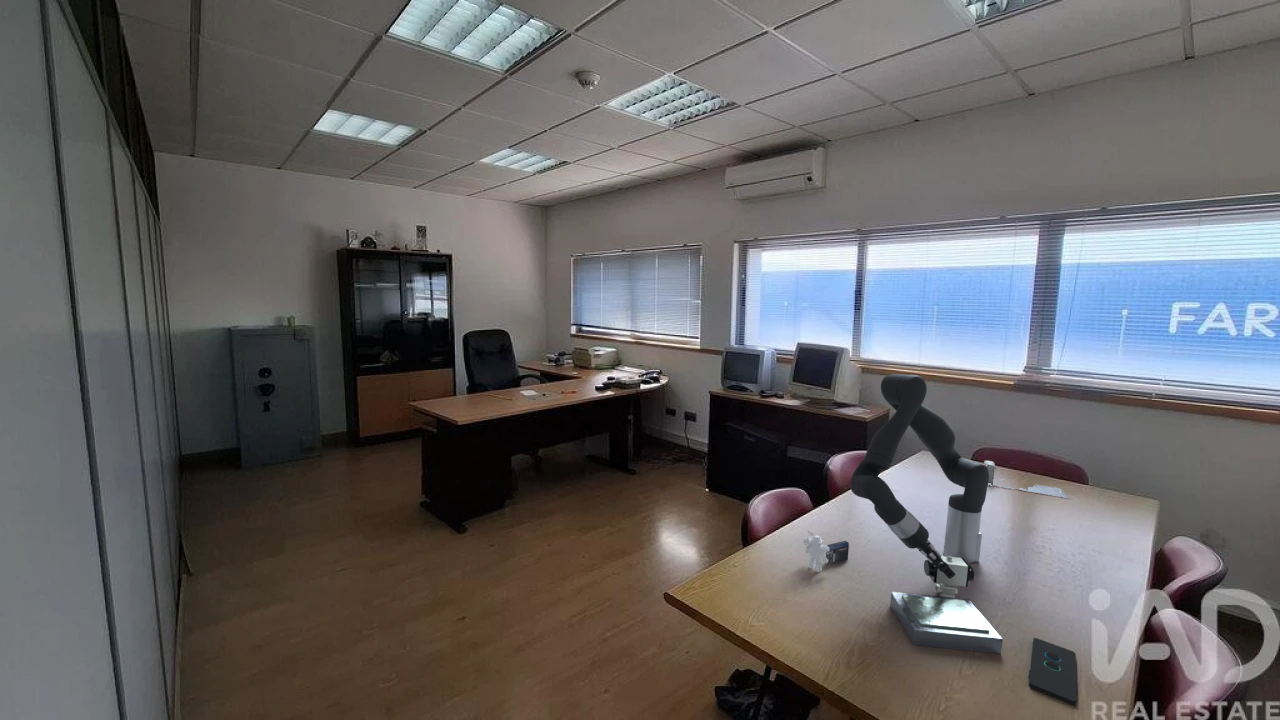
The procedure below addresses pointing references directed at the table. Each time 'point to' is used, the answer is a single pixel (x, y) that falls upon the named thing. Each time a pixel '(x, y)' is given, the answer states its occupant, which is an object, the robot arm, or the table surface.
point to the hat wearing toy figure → (816, 551)
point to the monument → (1035, 489)
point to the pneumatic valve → (961, 577)
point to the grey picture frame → (945, 623)
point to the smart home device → (1053, 671)
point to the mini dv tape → (837, 552)
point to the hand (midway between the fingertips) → (945, 568)
